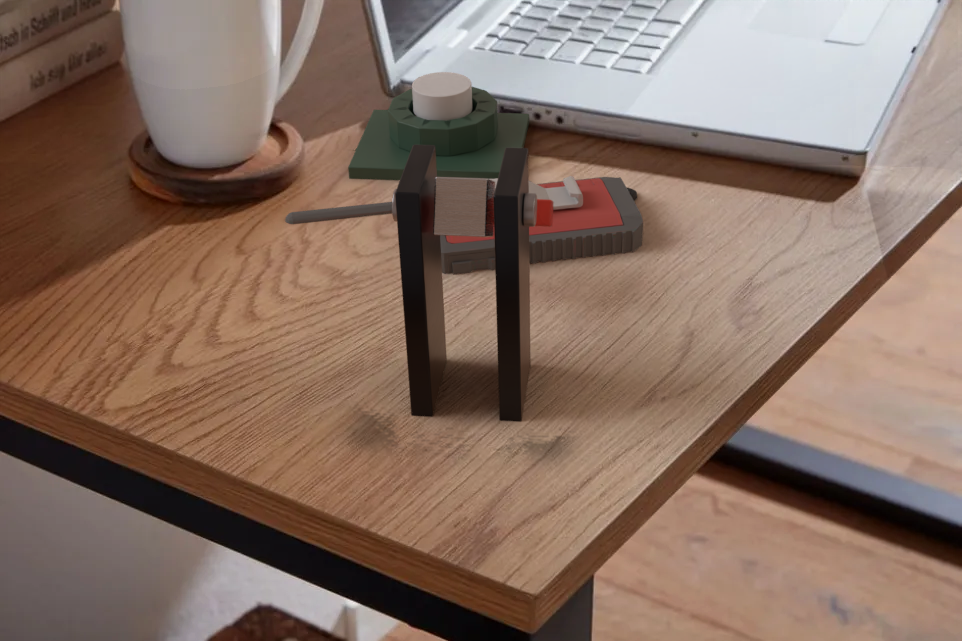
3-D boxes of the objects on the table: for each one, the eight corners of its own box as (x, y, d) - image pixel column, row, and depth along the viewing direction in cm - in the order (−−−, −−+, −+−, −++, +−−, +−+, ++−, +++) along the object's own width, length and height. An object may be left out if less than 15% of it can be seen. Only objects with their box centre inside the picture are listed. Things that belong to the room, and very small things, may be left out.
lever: (433, 233, 67) (435, 185, 67) (552, 237, 67) (554, 189, 66) (387, 233, 55) (389, 175, 55) (531, 238, 55) (534, 180, 55)
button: (475, 98, 83) (475, 72, 82) (468, 124, 80) (467, 97, 79) (418, 97, 83) (417, 71, 82) (408, 122, 80) (407, 95, 79)
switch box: (530, 143, 86) (529, 85, 83) (516, 205, 79) (516, 144, 77) (376, 138, 87) (372, 81, 85) (350, 199, 80) (345, 139, 78)
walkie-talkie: (624, 196, 79) (286, 233, 77) (627, 128, 77) (278, 164, 75) (666, 272, 72) (294, 315, 70) (670, 200, 70) (285, 242, 67)
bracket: (403, 359, 66) (386, 124, 59) (564, 367, 65) (566, 129, 58) (372, 463, 60) (348, 213, 53) (551, 474, 59) (552, 220, 52)
